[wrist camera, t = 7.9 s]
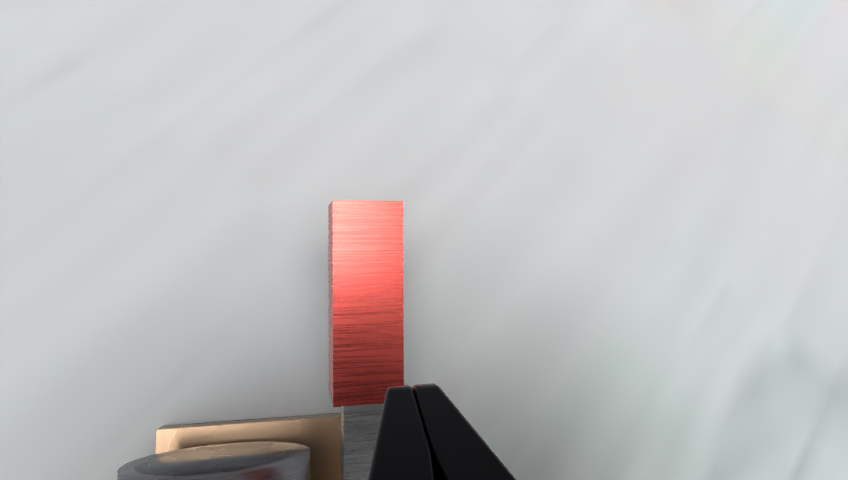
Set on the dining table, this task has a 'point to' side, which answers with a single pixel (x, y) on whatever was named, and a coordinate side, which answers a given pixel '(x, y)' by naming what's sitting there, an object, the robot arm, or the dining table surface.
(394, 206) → the lever
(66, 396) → the dining table surface
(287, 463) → the valve
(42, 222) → the dining table surface
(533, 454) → the dining table surface
